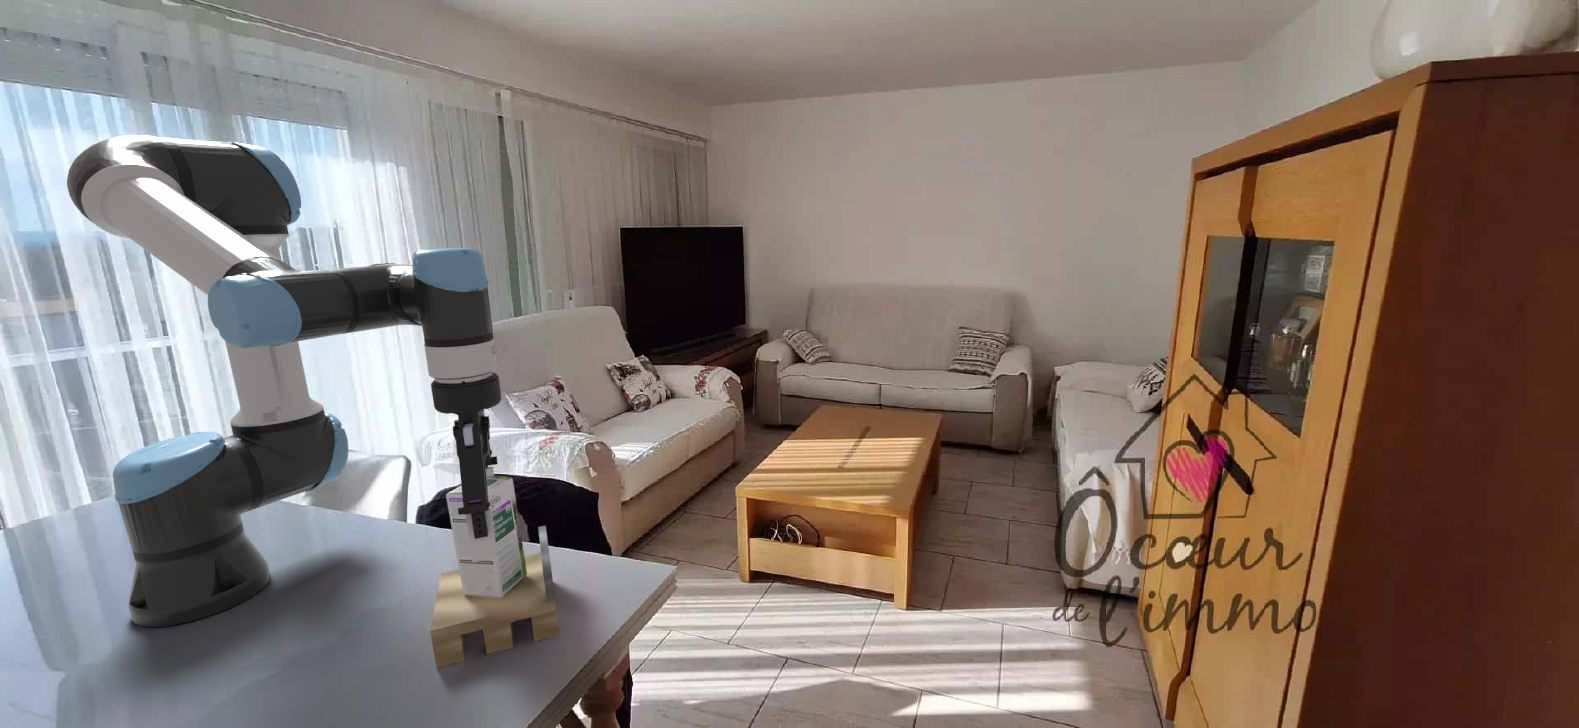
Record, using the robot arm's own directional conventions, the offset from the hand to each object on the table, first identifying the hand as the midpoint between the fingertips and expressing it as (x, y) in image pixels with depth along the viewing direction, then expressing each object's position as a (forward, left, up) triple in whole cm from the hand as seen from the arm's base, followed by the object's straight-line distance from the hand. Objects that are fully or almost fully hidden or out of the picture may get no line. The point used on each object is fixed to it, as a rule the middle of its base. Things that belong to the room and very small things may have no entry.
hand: (486, 534), depth 83 cm
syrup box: (0, 0, -8) cm, 8 cm away
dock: (0, 0, -12) cm, 13 cm away
